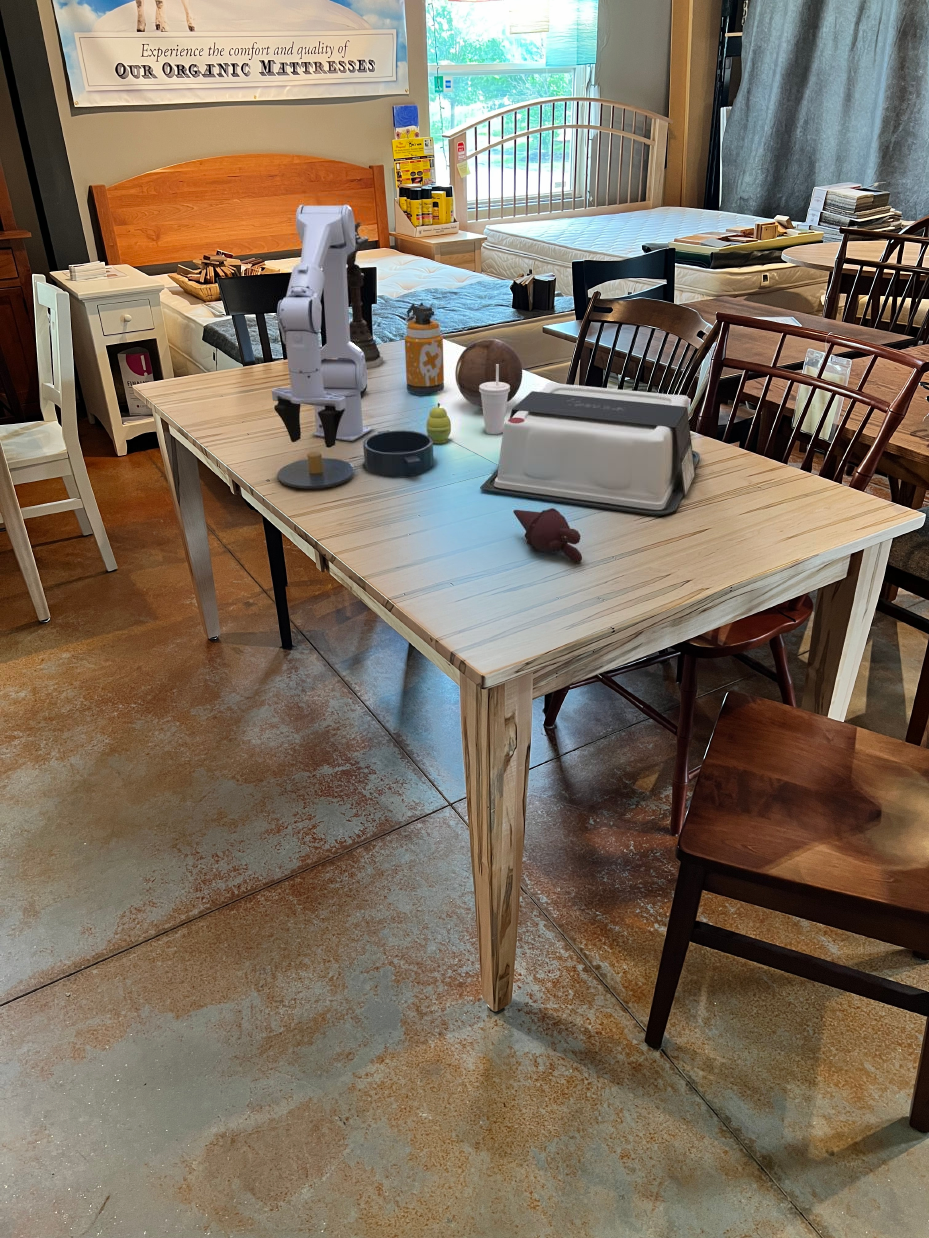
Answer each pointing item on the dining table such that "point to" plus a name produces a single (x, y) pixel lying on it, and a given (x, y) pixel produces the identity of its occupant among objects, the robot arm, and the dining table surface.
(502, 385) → the smoothie
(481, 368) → the wooden sphere
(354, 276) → the dark brown tall piece
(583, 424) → the cake box
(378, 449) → the pan
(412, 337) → the canister
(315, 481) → the lid
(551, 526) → the icecream
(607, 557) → the dining table surface
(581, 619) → the dining table surface
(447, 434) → the pear
